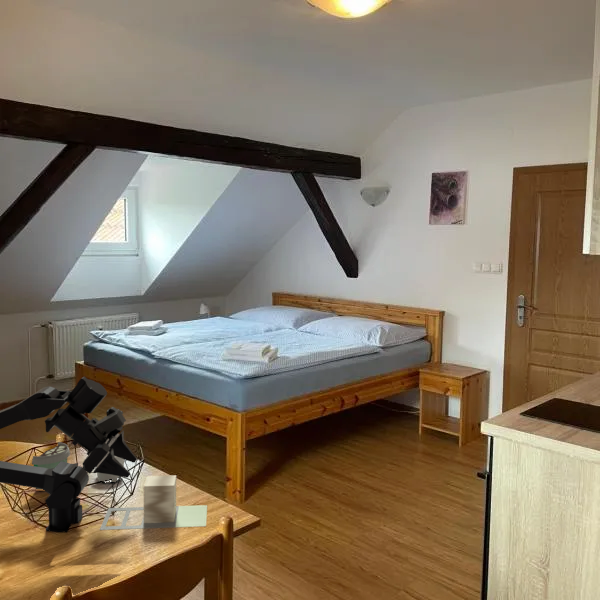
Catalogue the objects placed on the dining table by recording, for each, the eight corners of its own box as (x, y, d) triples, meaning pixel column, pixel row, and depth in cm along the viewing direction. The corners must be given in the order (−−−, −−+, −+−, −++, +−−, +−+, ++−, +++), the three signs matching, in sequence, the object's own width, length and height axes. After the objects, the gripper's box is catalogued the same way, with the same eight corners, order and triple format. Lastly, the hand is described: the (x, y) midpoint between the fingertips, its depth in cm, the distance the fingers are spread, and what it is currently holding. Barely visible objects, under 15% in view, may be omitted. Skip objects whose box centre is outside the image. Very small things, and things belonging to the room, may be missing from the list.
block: (143, 523, 142) (143, 486, 141) (146, 511, 148) (146, 476, 147) (174, 522, 143) (174, 485, 142) (176, 510, 149) (176, 475, 148)
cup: (86, 476, 172) (85, 448, 171) (112, 469, 178) (112, 442, 177) (103, 488, 164) (102, 460, 163) (130, 481, 170) (130, 453, 169)
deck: (99, 536, 139) (99, 529, 139) (108, 514, 150) (108, 508, 150) (205, 532, 142) (206, 526, 142) (207, 510, 153) (207, 505, 153)
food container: (53, 496, 159) (52, 459, 158) (32, 493, 160) (31, 456, 159) (79, 477, 171) (79, 443, 170) (59, 475, 172) (59, 441, 171)
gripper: (91, 412, 131) (148, 456, 134) (109, 391, 150) (159, 429, 152) (58, 451, 132) (116, 494, 134) (80, 425, 150) (131, 463, 152)
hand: (132, 468), depth 143 cm, fingers open, 9 cm apart
